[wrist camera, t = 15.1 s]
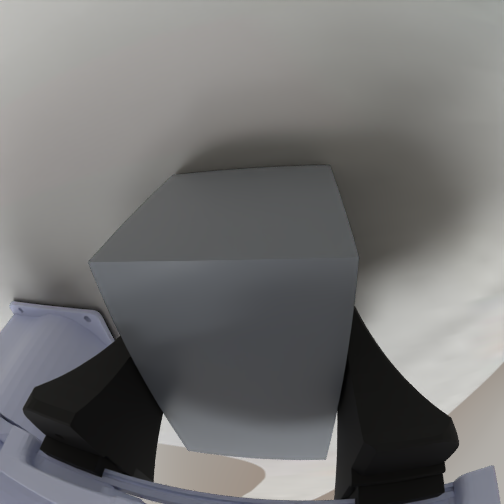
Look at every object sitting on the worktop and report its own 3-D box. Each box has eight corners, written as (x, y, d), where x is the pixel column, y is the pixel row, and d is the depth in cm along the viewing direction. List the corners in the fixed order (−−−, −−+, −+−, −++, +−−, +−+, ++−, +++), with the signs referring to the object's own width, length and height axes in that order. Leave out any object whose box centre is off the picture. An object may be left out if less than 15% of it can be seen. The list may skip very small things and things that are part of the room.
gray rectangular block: (214, 352, 18) (188, 450, 12) (172, 175, 13) (87, 262, 7) (324, 353, 17) (325, 459, 12) (329, 165, 12) (359, 257, 6)
